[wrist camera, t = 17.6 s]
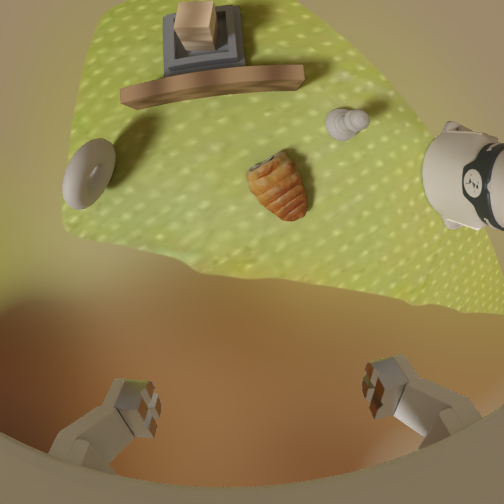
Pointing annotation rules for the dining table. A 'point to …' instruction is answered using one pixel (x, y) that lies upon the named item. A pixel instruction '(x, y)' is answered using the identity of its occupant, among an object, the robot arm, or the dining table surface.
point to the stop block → (197, 25)
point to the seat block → (196, 61)
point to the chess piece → (346, 123)
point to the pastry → (279, 187)
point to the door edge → (213, 84)
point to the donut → (88, 173)
